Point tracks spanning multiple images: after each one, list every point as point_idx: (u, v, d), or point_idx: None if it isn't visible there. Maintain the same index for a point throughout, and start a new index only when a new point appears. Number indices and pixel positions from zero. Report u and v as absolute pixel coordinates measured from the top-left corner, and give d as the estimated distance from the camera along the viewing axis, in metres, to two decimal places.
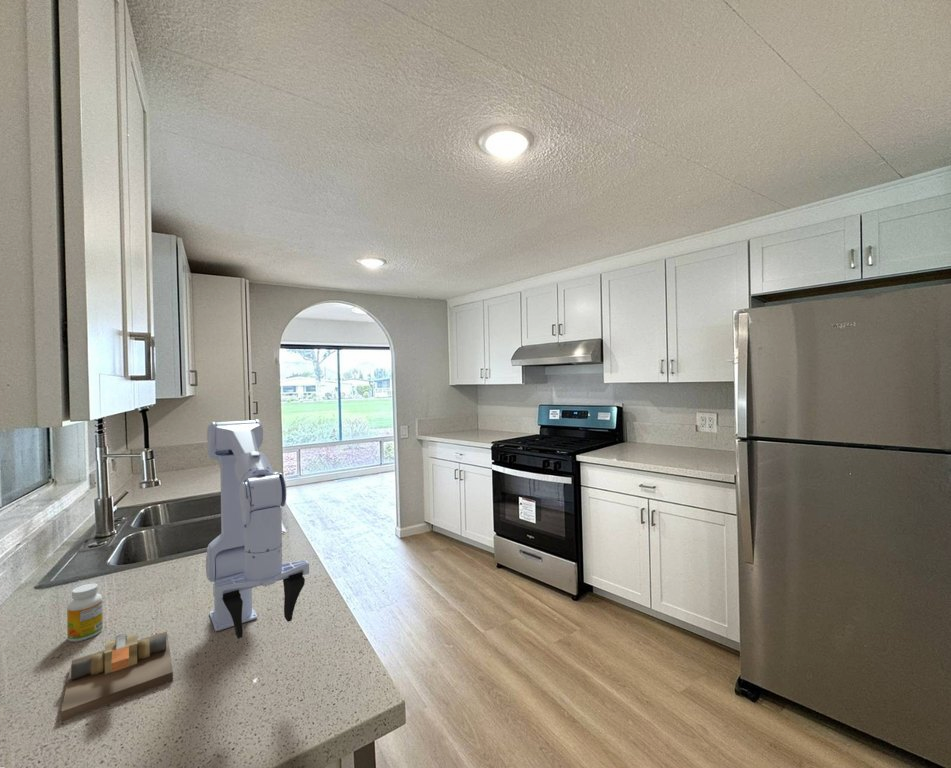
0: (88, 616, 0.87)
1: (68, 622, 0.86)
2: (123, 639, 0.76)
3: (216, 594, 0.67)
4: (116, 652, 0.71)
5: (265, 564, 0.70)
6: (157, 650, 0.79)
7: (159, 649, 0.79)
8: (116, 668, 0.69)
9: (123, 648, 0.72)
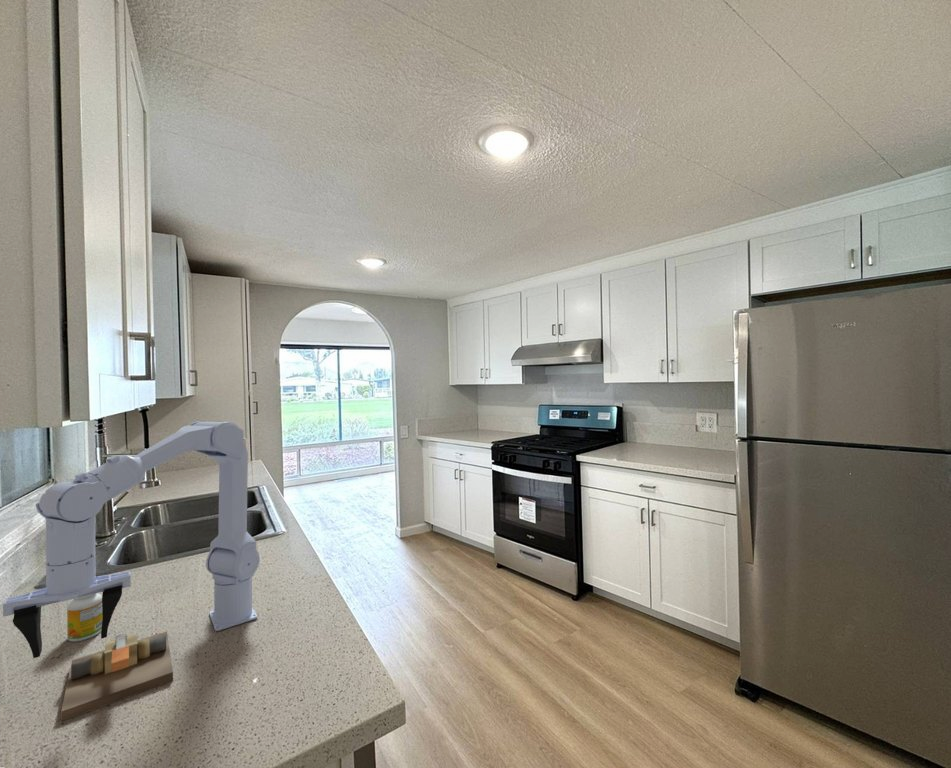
0: (88, 616, 0.87)
1: (68, 622, 0.86)
2: (123, 639, 0.76)
3: (4, 610, 0.62)
4: (116, 652, 0.71)
5: (66, 578, 0.65)
6: (157, 650, 0.79)
7: (159, 649, 0.79)
8: (116, 668, 0.69)
9: (123, 648, 0.72)
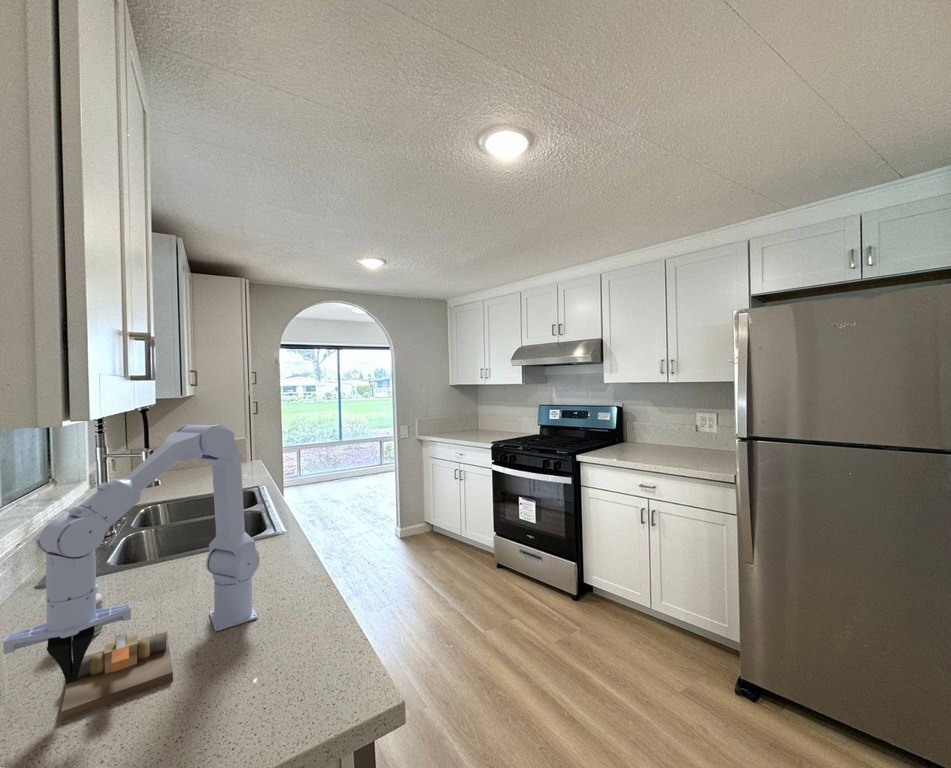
0: None
1: None
2: (123, 639, 0.76)
3: (5, 648, 0.62)
4: (116, 652, 0.71)
5: (66, 614, 0.65)
6: (157, 650, 0.79)
7: (159, 649, 0.79)
8: (116, 668, 0.69)
9: (123, 648, 0.72)
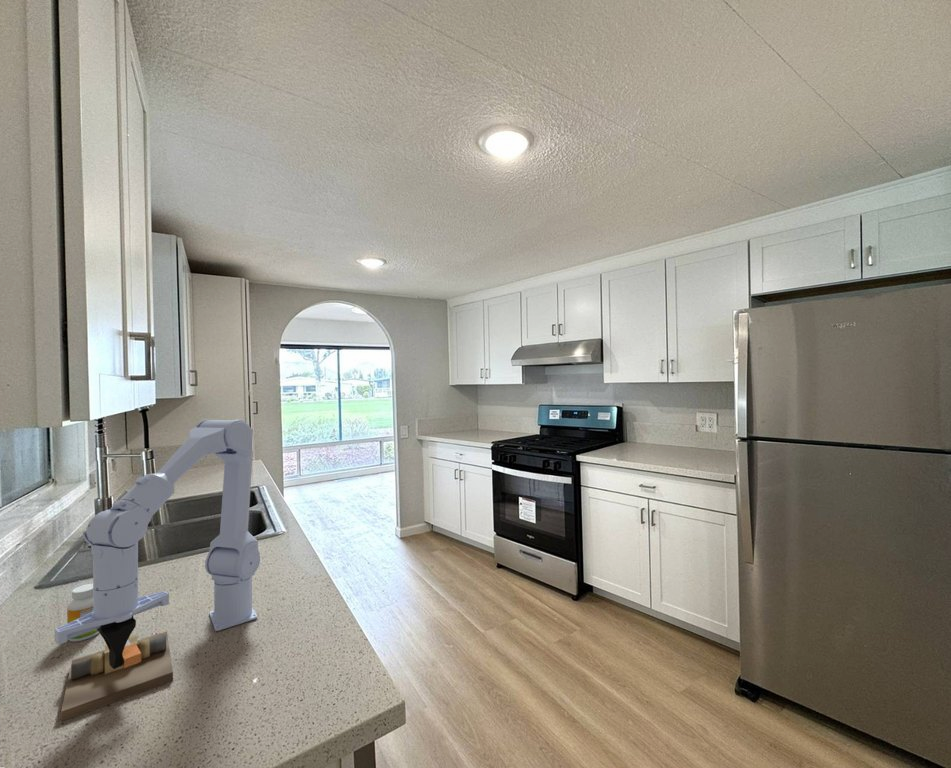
0: None
1: (68, 622, 0.86)
2: None
3: (59, 638, 0.64)
4: (124, 649, 0.72)
5: (119, 600, 0.69)
6: (157, 650, 0.79)
7: (159, 649, 0.79)
8: (129, 664, 0.70)
9: (130, 646, 0.73)
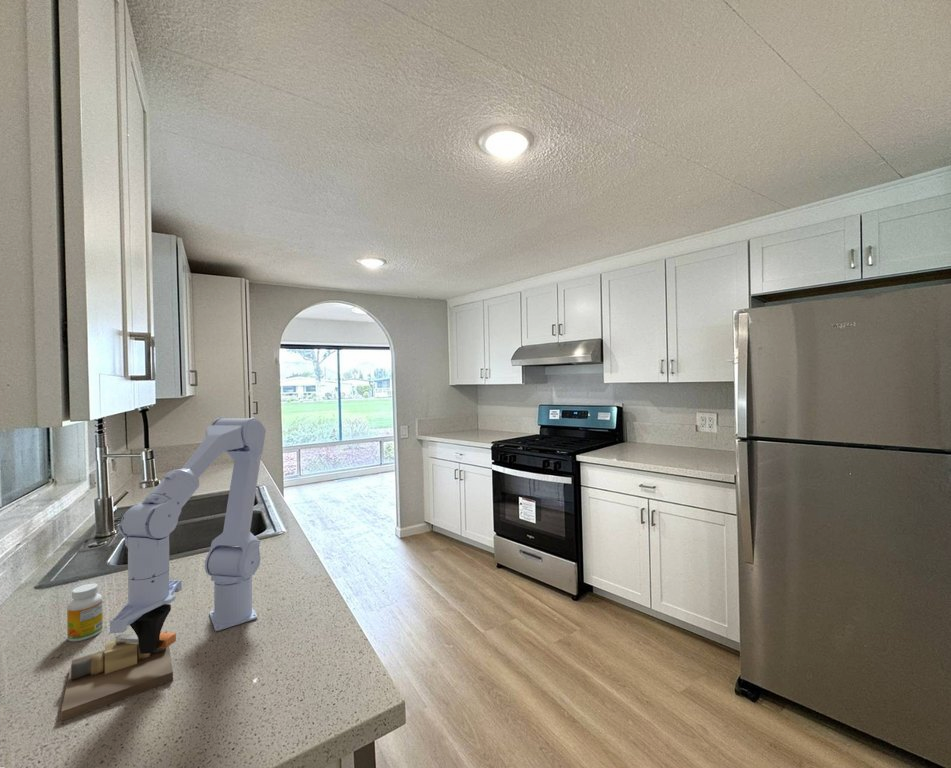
0: (88, 616, 0.87)
1: (68, 622, 0.86)
2: (131, 635, 0.77)
3: (123, 626, 0.67)
4: None
5: (164, 585, 0.74)
6: (157, 650, 0.79)
7: (159, 649, 0.79)
8: (168, 644, 0.75)
9: None
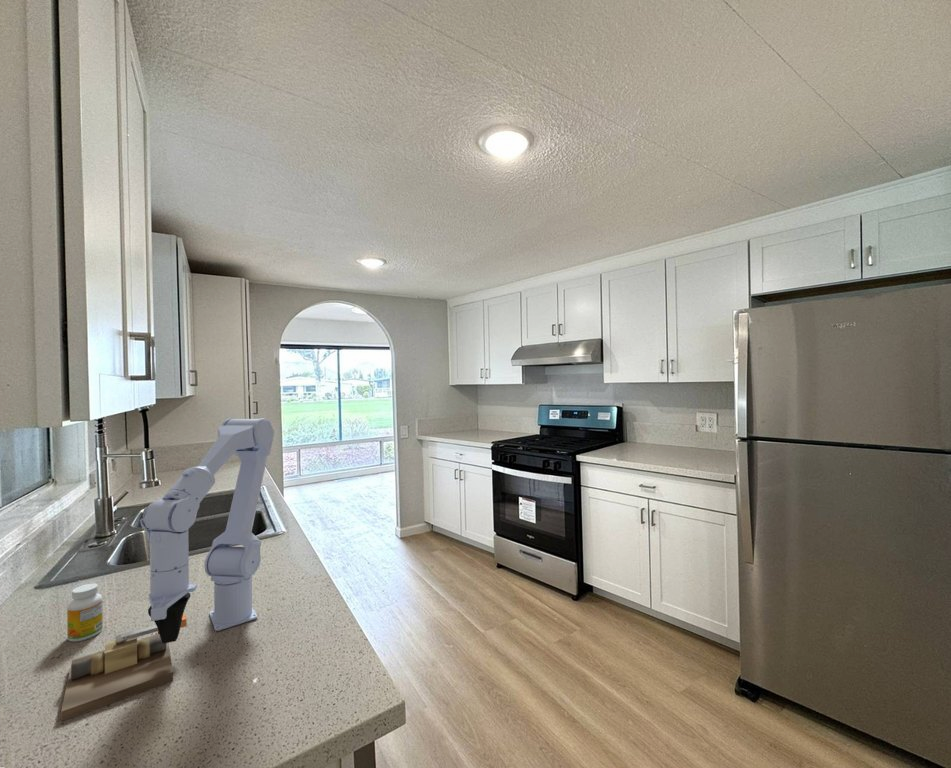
0: (88, 616, 0.87)
1: (68, 622, 0.86)
2: (133, 631, 0.78)
3: (165, 613, 0.71)
4: None
5: (187, 574, 0.78)
6: (157, 650, 0.79)
7: (159, 649, 0.79)
8: (186, 622, 0.82)
9: None
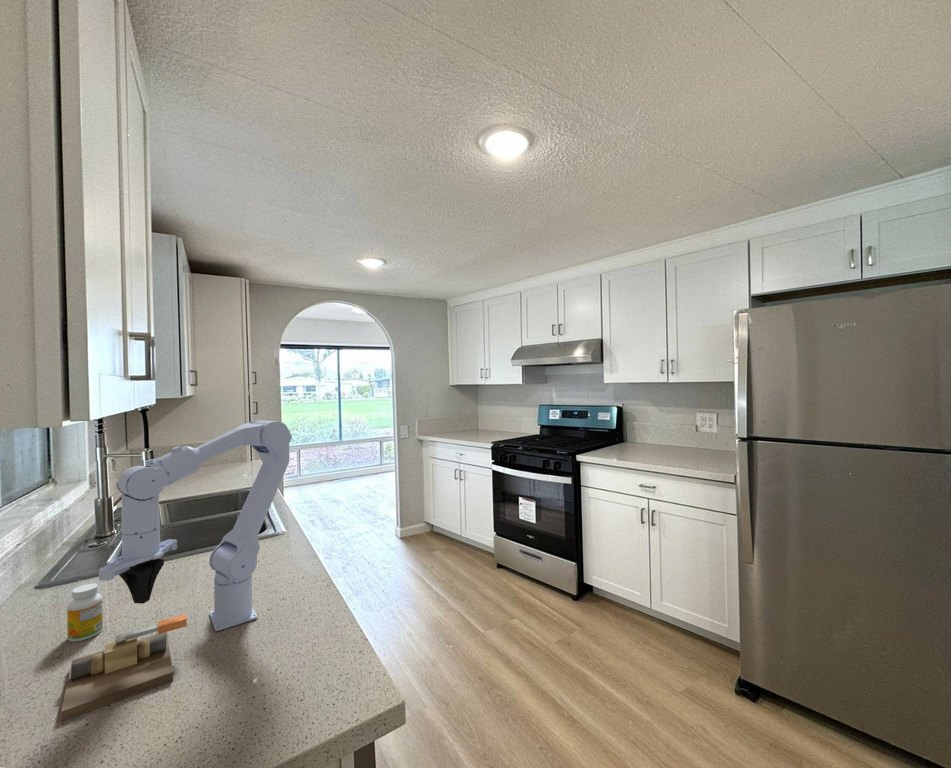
0: (88, 616, 0.87)
1: (68, 622, 0.86)
2: (133, 631, 0.78)
3: (109, 575, 0.74)
4: (165, 623, 0.80)
5: (152, 541, 0.80)
6: (157, 650, 0.79)
7: (159, 649, 0.79)
8: (186, 622, 0.82)
9: (161, 622, 0.80)
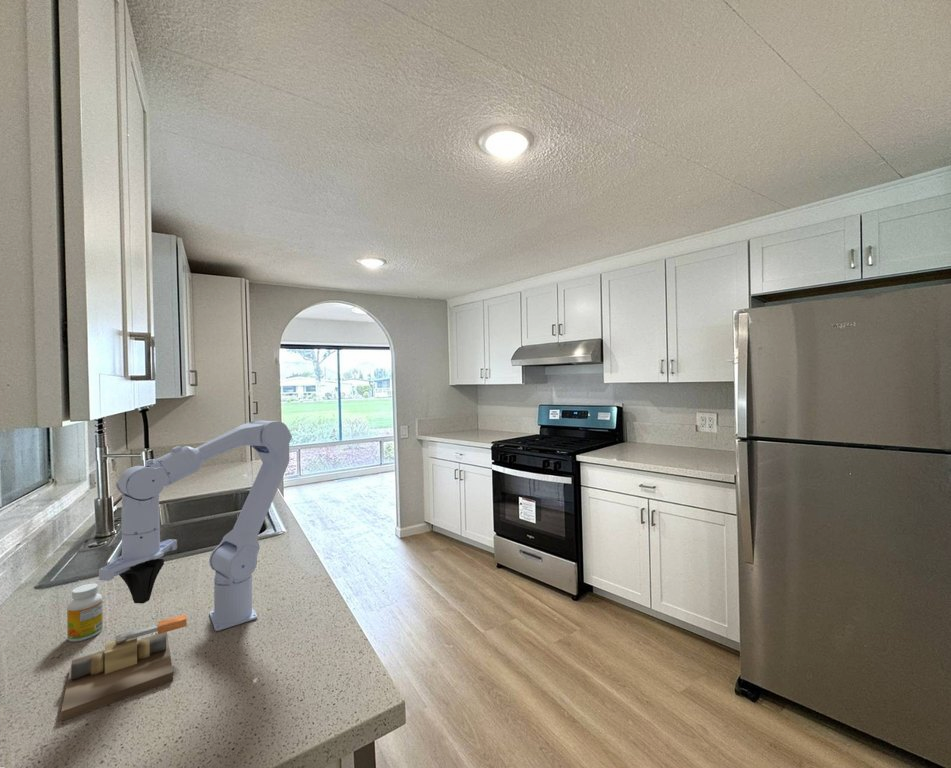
0: (88, 616, 0.87)
1: (68, 622, 0.86)
2: (133, 631, 0.78)
3: (109, 575, 0.74)
4: (165, 623, 0.80)
5: (152, 541, 0.80)
6: (157, 650, 0.79)
7: (159, 649, 0.79)
8: (186, 622, 0.82)
9: (161, 622, 0.80)
